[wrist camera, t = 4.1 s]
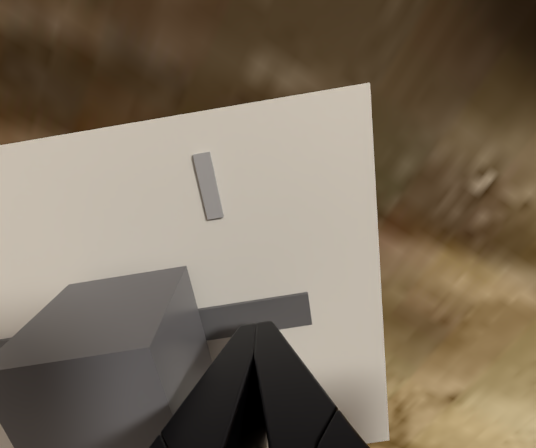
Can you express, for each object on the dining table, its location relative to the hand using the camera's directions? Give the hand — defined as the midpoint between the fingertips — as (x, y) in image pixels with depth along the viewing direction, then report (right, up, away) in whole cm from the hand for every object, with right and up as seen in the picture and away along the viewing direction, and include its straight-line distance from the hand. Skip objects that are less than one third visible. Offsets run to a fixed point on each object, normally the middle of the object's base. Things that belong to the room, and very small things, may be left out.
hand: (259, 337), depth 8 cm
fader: (-3, 0, +1) cm, 3 cm away
